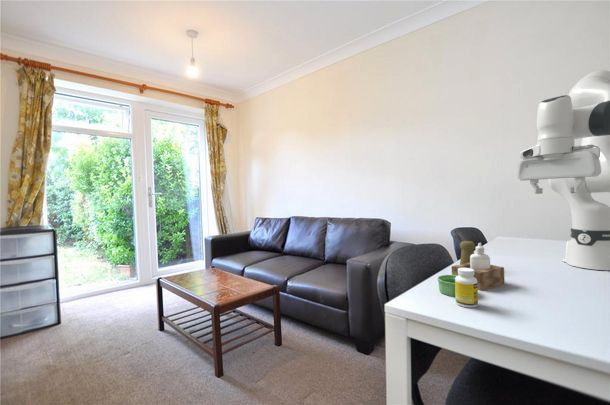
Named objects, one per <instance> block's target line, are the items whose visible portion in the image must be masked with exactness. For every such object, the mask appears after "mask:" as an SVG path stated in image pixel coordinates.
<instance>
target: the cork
mask: <svg viewBox="0 0 610 405" xmlns="http://www.w3.org/2000/svg"><path fill="white" fill-rule="evenodd" d="M459 248H460V249H461V252H460V261H459V265H460V264H465V263H470V256H471V255H472V254H475V252H474V251H475V250H476V244H475V242H474V241H471V240H464V241H460V244H459Z"/></svg>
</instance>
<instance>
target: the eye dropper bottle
mask: <svg viewBox="0 0 610 405" xmlns="http://www.w3.org/2000/svg"><path fill="white" fill-rule="evenodd" d="M490 265H491V257H490V255H488V254H486V253H485V247H484V246H482V242H478V243H477V246H475V252H474V254H472V255H471V256H470V268H471V269H473V270H476V271H480V270H485V269H490Z"/></svg>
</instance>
